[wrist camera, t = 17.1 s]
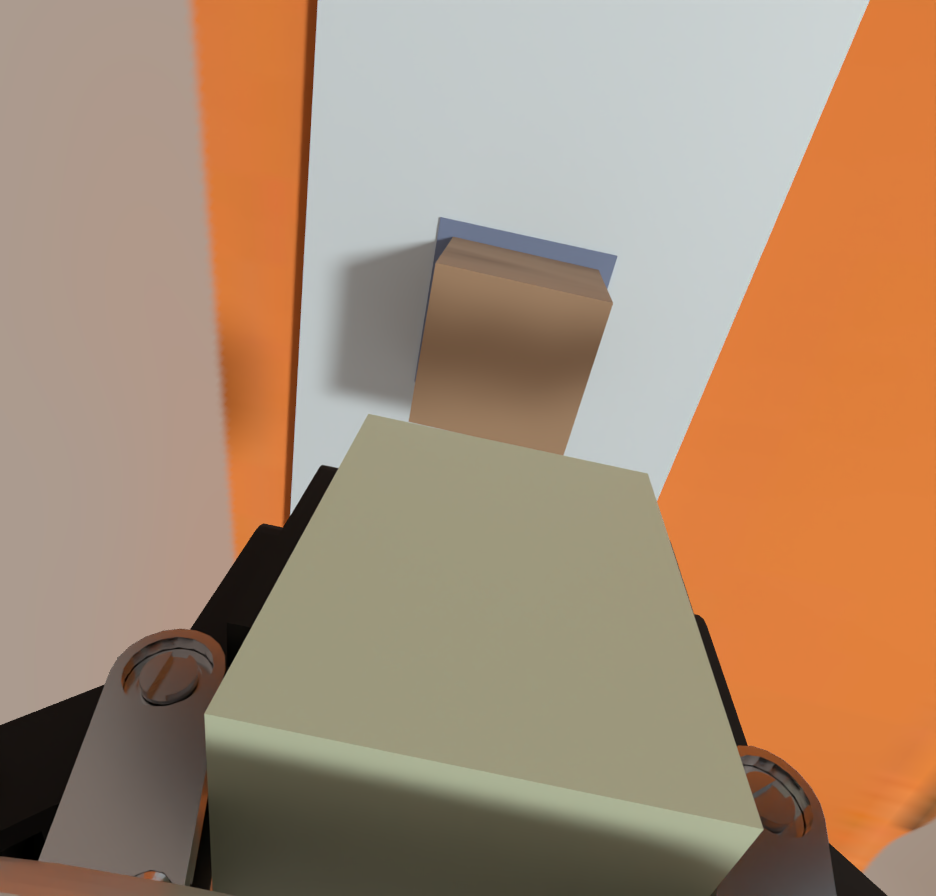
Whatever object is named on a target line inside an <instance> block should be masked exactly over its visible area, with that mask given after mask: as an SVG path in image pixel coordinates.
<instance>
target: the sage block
mask: <svg viewBox="0 0 936 896" xmlns="http://www.w3.org/2000/svg"><path fill="white" fill-rule="evenodd" d="M204 717H205V739H206V760H207V782H208V803H209V824H210V846H211V867H212V889H213V891H214V892H219V893H224V894H229V895H235V896H710V895H711V894H712V893H713V891H714V890H715V889H716V888H717V887H718V885H719V884H720V883H721V882H722V880H723V879H724V878H725V877H726V875H727V874H728V873H729V872H730V870H731V869H732V868H733V867H734V865H735V864H736V863H737V862H738V861H739V859H740V858H741V857H742V856H743V854H744V853H745V852H746V851H747V849H748V848H749V847H750V846H751V844H752V843H753V842H754V841H755V839H756V838H757V837H758V836H759V834H760V833H761V832H762V831H763V830H764V829H763V826H762V823H761V820H760V817H759V814H758V810H757V807H756V804H755V801H754V798H753V795H752V792H751V789H750V786H749V783H748V780H747V777H746V774H745V771H744V767H743V764H742V761H741V758H740V755H739V752H738V749H737V746H736V743H735V740H734V737H733V734H732V731H731V728H730V724H729V721H728V718H727V715H726V712H725V709H724V706H723V703H722V700H721V697H720V694H719V691H718V688H717V685H716V682H715V678H714V675H713V672H712V669H711V666H710V663H709V660H708V657H707V654H706V651H705V648H704V645H703V642H702V639H701V635H700V632H699V629H698V626H697V623H696V620H695V617H694V614H693V611H692V608H691V605H690V602H689V599H688V596H687V592H686V589H685V586H684V583H683V580H682V577H681V574H680V571H679V568H678V565H677V562H676V559H675V556H674V553H673V549H672V546H671V543H670V540H669V537H668V534H667V531H666V528H665V525H664V522H663V519H662V516H661V513H660V510H659V507H658V503H657V500H656V497H655V494H654V491H653V488H652V485H651V482H650V479H649V476H648V474H647V473H643V472H638V471H633V470H629V469H624V468H619V467H615V466H610V465H605V464H601V463H596V462H591V461H587V460H582V459H577V458H573V457H568V456H563V455H559V454H554V453H549V452H545V451H540V450H535V449H531V448H526V447H521V446H517V445H512V444H507V443H503V442H498V441H493V440H489V439H484V438H479V437H475V436H470V435H465V434H461V433H456V432H451V431H447V430H442V429H437V428H433V427H428V426H423V425H419V424H414V423H409V422H405V421H400V420H395V419H391V418H386V417H381V416H377V415H372V414H368V415H367V417H366V419H365V421H364V423H363V424H362V426H361V428H360V430H359V432H358V434H357V435H356V437H355V439H354V441H353V443H352V445H351V446H350V448H349V450H348V452H347V454H346V455H345V457H344V459H343V461H342V463H341V465H340V466H339V468H338V470H337V472H336V474H335V476H334V477H333V479H332V481H331V483H330V485H329V487H328V488H327V490H326V492H325V494H324V496H323V498H322V499H321V501H320V503H319V505H318V507H317V509H316V510H315V512H314V514H313V516H312V518H311V520H310V521H309V523H308V525H307V527H306V529H305V530H304V532H303V534H302V536H301V538H300V540H299V541H298V543H297V545H296V547H295V549H294V551H293V552H292V554H291V556H290V558H289V560H288V562H287V563H286V565H285V567H284V569H283V571H282V573H281V574H280V576H279V578H278V580H277V582H276V584H275V585H274V587H273V589H272V591H271V593H270V594H269V596H268V598H267V600H266V602H265V604H264V605H263V607H262V609H261V611H260V613H259V615H258V616H257V618H256V620H255V622H254V624H253V626H252V627H251V629H250V631H249V633H248V635H247V637H246V638H245V640H244V642H243V644H242V646H241V648H240V649H239V651H238V653H237V655H236V657H235V659H234V660H233V662H232V664H231V666H230V668H229V669H228V671H227V673H226V675H225V677H224V679H223V680H222V682H221V684H220V686H219V688H218V690H217V691H216V693H215V695H214V697H213V699H212V701H211V702H210V704H209V706H208V708H207V710H206V712H205V713H204Z"/></svg>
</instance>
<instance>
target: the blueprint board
mask: <svg viewBox="0 0 936 896" xmlns="http://www.w3.org/2000/svg"><path fill="white" fill-rule="evenodd" d="M868 3H869V0H318V6H317V25H316V43H315V62H314V80H313V99H312V118H311V136H310V155H309V174H308V192H307V211H306V230H305V248H304V267H303V285H302V304H301V323H300V341H299V360H298V379H297V397H296V416H295V434H294V453H293V472H292V490H291V509H290V515H291V514H292V512H293V510H294V509H295V507H296V505H297V504H298V502H299V500H300V499H301V497H302V495H303V494H304V492H305V490H306V489H307V487H308V485H309V484H310V482H311V480H312V479H313V477H314V475H315V474H316V472H317V470H318V469H319V467H320V466H321V465H326V466H331V467H336V468H339V466H340V465H341V463H342V461H343V459H344V457H345V455H346V454H347V452H348V450H349V448H350V446H351V445H352V443H353V441H354V439H355V437H356V435H357V434H358V432H359V430H360V428H361V426H362V424H363V423H364V421H365V419H366V417H367V415H368V414H372V415H377V416H381V417H386V418H391V419H395V420H400V421H405V422H409V416H410V410H411V404H412V398H413V393H414V387H415V381H416V375H417V369H418V363H419V357H420V351H421V346H422V340H423V334H424V328H425V322H426V316H427V310H428V305H429V299H430V293H431V287H432V281H433V275H434V269H435V263H436V261H437V260H438V258H439V257H440V255H441V254H442V252H443V251H444V250H445V248H446V247H447V245H448V244H449V242H450V241H451V239H452V238H453V237H457V238H462V239H466V240H470V241H475V242H479V243H483V244H488V245H492V246H497V247H501V248H505V249H510V250H514V251H518V252H523V253H527V254H532V255H536V256H540V257H545V258H549V259H553V260H558V261H562V262H567V263H571V264H575V265H580V266H584V267H588V268H593V269H597V270H599V272H600V274H601V277H602V279H603V281H604V283H605V286H606V288H607V290H608V292H609V295H610V297H611V299H612V302H613V305H612V308H611V311H610V314H609V318H608V321H607V324H606V327H605V330H604V333H603V336H602V339H601V342H600V345H599V348H598V351H597V354H596V357H595V360H594V363H593V367H592V370H591V373H590V376H589V379H588V382H587V385H586V388H585V391H584V394H583V397H582V400H581V403H580V406H579V409H578V413H577V416H576V419H575V422H574V425H573V428H572V431H571V434H570V437H569V440H568V443H567V446H566V449H565V452H564V455H563V456H568V457H573V458H577V459H582V460H587V461H591V462H596V463H601V464H605V465H610V466H615V467H619V468H624V469H629V470H633V471H638V472H643V473H647V474H648V476H649V479H650V482H651V485H652V488H653V491H654V494H655V497H656V500H658V497H659V495H660V493H661V490H662V488H663V486H664V483H665V481H666V478H667V476H668V474H669V471H670V469H671V467H672V464H673V462H674V460H675V457H676V455H677V453H678V450H679V448H680V445H681V443H682V441H683V438H684V436H685V434H686V431H687V429H688V427H689V424H690V422H691V420H692V417H693V415H694V412H695V410H696V408H697V405H698V403H699V401H700V398H701V396H702V394H703V391H704V389H705V387H706V384H707V382H708V380H709V377H710V375H711V372H712V370H713V368H714V365H715V363H716V361H717V358H718V356H719V354H720V351H721V349H722V347H723V344H724V342H725V339H726V337H727V335H728V332H729V330H730V328H731V325H732V323H733V321H734V318H735V316H736V314H737V311H738V309H739V306H740V304H741V302H742V299H743V297H744V295H745V292H746V290H747V288H748V285H749V283H750V281H751V278H752V276H753V274H754V271H755V269H756V266H757V264H758V262H759V259H760V257H761V255H762V252H763V250H764V248H765V245H766V243H767V241H768V238H769V236H770V233H771V231H772V229H773V226H774V224H775V222H776V219H777V217H778V215H779V212H780V210H781V208H782V205H783V203H784V200H785V198H786V196H787V193H788V191H789V189H790V186H791V184H792V182H793V179H794V177H795V175H796V172H797V170H798V168H799V165H800V163H801V160H802V158H803V156H804V153H805V151H806V149H807V146H808V144H809V142H810V139H811V137H812V135H813V132H814V130H815V127H816V125H817V123H818V120H819V118H820V116H821V113H822V111H823V109H824V106H825V104H826V102H827V99H828V97H829V94H830V92H831V90H832V87H833V85H834V83H835V80H836V78H837V76H838V73H839V71H840V69H841V66H842V64H843V62H844V59H845V57H846V54H847V52H848V50H849V47H850V45H851V43H852V40H853V38H854V36H855V33H856V31H857V29H858V26H859V24H860V21H861V19H862V17H863V14H864V12H865V10H866V7H867V5H868ZM409 423H412V422H409ZM414 424H416V423H414ZM419 425H421V424H419ZM423 426H425V425H423ZM428 427H430V426H428ZM433 428H434V427H433ZM437 429H439V428H437ZM442 430H443V429H442ZM451 432H452V431H451Z"/></svg>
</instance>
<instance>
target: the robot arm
mask: <svg viewBox="0 0 936 896" xmlns="http://www.w3.org/2000/svg"><path fill="white" fill-rule="evenodd" d="M337 470H338V468H336V467H331V466H326V465H321V466H320V467H319V469H318V470H317V472H316V474H315V475H314V477H313V479H312V480H311V482H310V484H309V485H308V487H307V489H306V490H305V492H304V494H303V495H302V497H301V499H300V500H299V502H298V504H297V505H296V507H295V509H294V510H293V512H292V514H291V515H290V517H289V519H288V520H287V522H286V524H285V525H284V527H283V528H282V527H277V526H273V525H268V524H262V525H260V526H259V527H258V528H257V529H256V531H255V532H254V534H253V535H252V537H251V538H250V540H249V541H248V543H247V544H246V546H245V547H244V549H243V550H242V552H241V553H240V555H239V556H238V558H237V559H236V561H235V562H234V564H233V565H232V567H231V568H230V570H229V571H228V573H227V575H226V576H225V578H224V579H223V581H222V582H221V584H220V585H219V587H218V588H217V590H216V591H215V593H214V594H213V596H212V597H211V599H210V600H209V602H208V603H207V605H206V606H205V608H204V609H203V611H202V612H201V614H200V615H199V617H198V619H197V620H196V621H195V623H194V624H193V626H192V628H191V629H190V630H188V629H174V630H166V631H161V632H158V633H155V634H152V635H149V636H146V637H144V638H143V639H141V640H139V641H138V642H136V643H134V644H132V645H131V646H130V647H128V649H126V650H125V651H124V652H123V653H122V654H121V655H120V656H119V657H118V658H117V660H116V662H115V663H114V666H113V667H112V668H111V670H110V672H109V675H108V678H107V680H106V683H105V685H102V686H100V687H97V688H94V689H92V690H89V691H87V692H85V693H82V694H79V695H77V696H74V697H71V698H69V699H66V700H64V701H61V702H59V703H56V704H53V705H51V706H48V707H46V708H43V709H41V710H38V711H36V712H33V713H31V714H28V715H25V716H23V717H20V718H18V719H15V720H13V721H10V722H8V723H5V724H2V725H0V896H235V895H229V894H224V893H219V892H214V891H213V889H212V867H211V846H210V824H209V803H208V782H207V760H206V739H205V717H204V713H205V712H206V710H207V708H208V706H209V704H210V702H211V701H212V699H213V697H214V695H215V693H216V691H217V690H218V688H219V686H220V684H221V682H222V680H223V679H224V677H225V675H226V673H227V671H228V669H229V668H230V666H231V664H232V662H233V660H234V659H235V657H236V655H237V653H238V651H239V649H240V648H241V646H242V644H243V642H244V640H245V638H246V637H247V635H248V633H249V631H250V629H251V627H252V626H253V624H254V622H255V620H256V618H257V616H258V615H259V613H260V611H261V609H262V607H263V605H264V604H265V602H266V600H267V598H268V596H269V594H270V593H271V591H272V589H273V587H274V585H275V584H276V582H277V580H278V578H279V576H280V574H281V573H282V571H283V569H284V567H285V565H286V563H287V562H288V560H289V558H290V556H291V554H292V552H293V551H294V549H295V547H296V545H297V543H298V541H299V540H300V538H301V536H302V534H303V532H304V530H305V529H306V527H307V525H308V523H309V521H310V520H311V518H312V516H313V514H314V512H315V510H316V509H317V507H318V505H319V503H320V501H321V499H322V498H323V496H324V494H325V492H326V490H327V488H328V487H329V485H330V483H331V481H332V479H333V477H334V476H335V474H336V472H337ZM670 543H671V542H670ZM671 546H672V545H671ZM672 549H673V548H672ZM673 553H674V551H673ZM674 556H675V554H674ZM675 559H676V557H675ZM676 562H677V560H676ZM677 565H678V563H677ZM678 568H679V566H678ZM679 571H680V569H679ZM680 574H681V573H680ZM681 577H682V576H681ZM682 580H683V579H682ZM683 583H684V582H683ZM684 586H685V585H684ZM685 589H686V588H685ZM686 592H687V591H686ZM687 596H688V594H687ZM688 599H689V597H688ZM689 602H690V600H689ZM690 605H691V603H690ZM691 608H692V607H691ZM692 611H693V610H692ZM693 614H694V613H693ZM694 617H695V620H696V623H697V626H698V629H699V632H700V635H701V639H702V642H703V645H704V648H705V651H706V654H707V657H708V660H709V663H710V666H711V669H712V672H713V675H714V678H715V682H716V685H717V688H718V691H719V694H720V697H721V700H722V703H723V706H724V709H725V712H726V715H727V718H728V721H729V724H730V728H731V731H732V734H733V737H734V740H735V743H736V746H737V749H738V752H739V755H740V758H741V761H742V764H743V767H744V771H745V774H746V777H747V780H748V783H749V786H750V789H751V792H752V795H753V798H754V801H755V804H756V807H757V810H758V814H759V817H760V820H761V823H762V826H763V829H764V830H763V831H762V832H761V833H760V834H759V836H758V837H757V838H756V839H755V841H754V842H753V843H752V844H751V846H750V847H749V848H748V849H747V851H746V852H745V853H744V854H743V856H742V857H741V858H740V859H739V861H738V862H737V863H736V864H735V865H734V867H733V868H732V869H731V870H730V872H729V873H728V874H727V875H726V877H725V878H724V879H723V880H722V882H721V883H720V884H719V885H718V887H717V888H716V889H715V890H714V891H713V893H712V894H711V895H710V896H887V895H886V894H885V893H884V892H883V891H881V889H879V888H878V887H877V886H876V885H875V884H874V883H873V882H872V881H870V880H869V879H868V878H867V877H866V876H865V875H864V874H863V873H862V872H861V871H859V870H858V869H857V868H856V867H855V866H854V865H853V864H852V863H851V862H849V861H848V860H847V859H846V858H845V857H844V856H843V855H842V854H841V853H839V852H838V851H837V850H836V849H835V848H834V847H833V846H832V845H831V844H829V842H828V836H827V829H826V823H825V818H824V814H823V811H822V808H821V804H820V802H819V800H818V799H817V797H816V795H815V793H814V792H813V790H812V788H811V787H810V785H809V784H808V783H807V782H806V781H805V780H804V779H803V777H802V776H801V775H800V774H799V773H798V772H797V771H796V770H795V769H794V768H792V767H791V766H790V765H789V764H788V763H786V762H785V761H784V760H783V759H781V758H779V757H777V756H776V755H774V754H772V753H770V752H768V751H766V750H763V749H760V748H757V747H754V746H748V745H747V742H746V739H745V736H744V733H743V730H742V728H741V725H740V722H739V719H738V716H737V713H736V710H735V707H734V704H733V701H732V698H731V695H730V692H729V689H728V687H727V684H726V681H725V678H724V675H723V672H722V669H721V666H720V663H719V660H718V657H717V654H716V651H715V648H714V646H713V643H712V640H711V637H710V634H709V631H708V628H707V625H706V623H705V621H704V619H703V618H702V617H700V616H699V615H695V614H694Z"/></svg>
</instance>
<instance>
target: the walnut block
mask: <svg viewBox="0 0 936 896" xmlns="http://www.w3.org/2000/svg"><path fill="white" fill-rule="evenodd" d="M612 305H613V302H612V299H611V297H610V295H609V292H608V290H607V288H606V286H605V283H604V281H603V279H602V277H601V274H600V272H599V270H597V269H593V268H588V267H584V266H580V265H575V264H571V263H567V262H562V261H558V260H553V259H549V258H545V257H540V256H536V255H532V254H527V253H523V252H518V251H514V250H510V249H505V248H501V247H497V246H492V245H488V244H483V243H479V242H475V241H470V240H466V239H462V238H457V237H453V238H452V239H451V241H450V242H449V244H448V245H447V247H446V248H445V250H444V251H443V252H442V254H441V255H440V257H439V258H438V260H437V261H436V263H435V269H434V275H433V281H432V287H431V293H430V299H429V305H428V310H427V316H426V322H425V328H424V334H423V340H422V346H421V351H420V357H419V363H418V369H417V375H416V381H415V387H414V393H413V398H412V404H411V410H410V416H409V422H412V423H416V424H421V425H425V426H430V427H434V428H439V429H443V430H447V431H452V432H456V433H461V434H465V435H470V436H475V437H479V438H484V439H489V440H493V441H498V442H503V443H507V444H512V445H517V446H521V447H526V448H531V449H535V450H540V451H545V452H549V453H554V454H559V455H564V452H565V449H566V446H567V443H568V440H569V437H570V434H571V431H572V428H573V425H574V422H575V419H576V416H577V413H578V409H579V406H580V403H581V400H582V397H583V394H584V391H585V388H586V385H587V382H588V379H589V376H590V373H591V370H592V367H593V363H594V360H595V357H596V354H597V351H598V348H599V345H600V342H601V339H602V336H603V333H604V330H605V327H606V324H607V321H608V318H609V314H610V311H611V308H612Z"/></svg>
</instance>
